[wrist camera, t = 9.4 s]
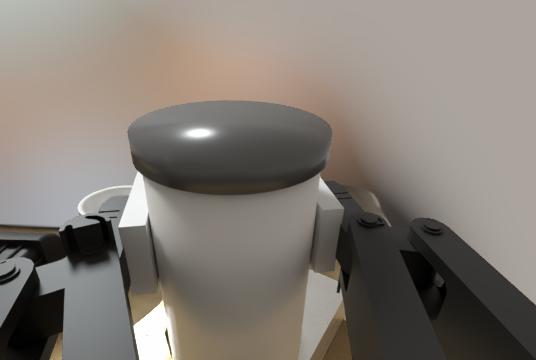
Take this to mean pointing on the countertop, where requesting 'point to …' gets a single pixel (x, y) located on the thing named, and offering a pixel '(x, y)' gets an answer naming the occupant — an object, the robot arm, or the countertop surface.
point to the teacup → (101, 198)
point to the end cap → (32, 247)
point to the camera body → (313, 329)
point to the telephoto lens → (232, 222)
